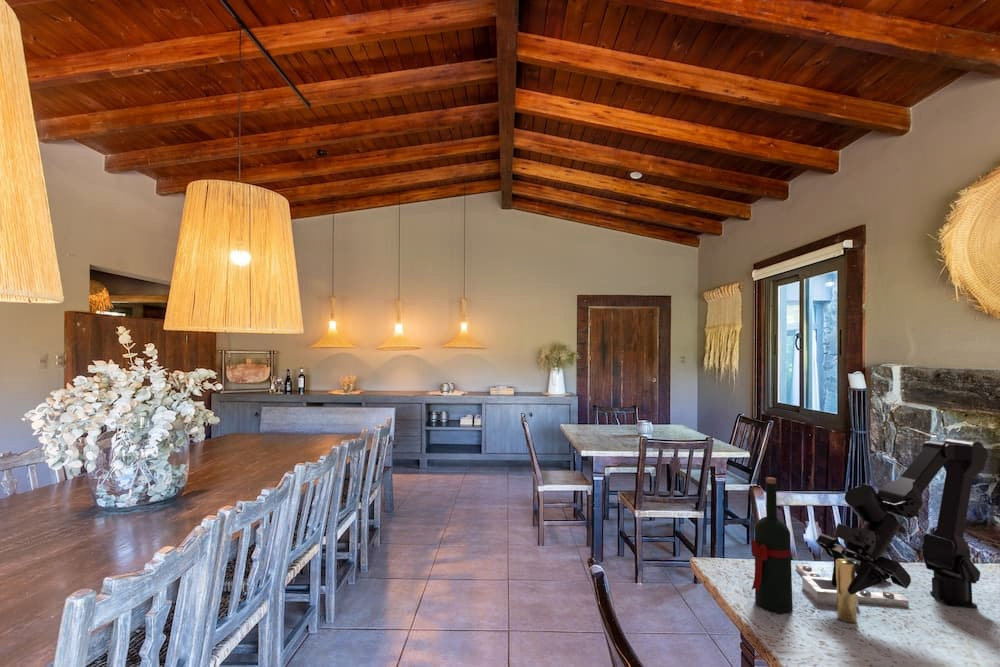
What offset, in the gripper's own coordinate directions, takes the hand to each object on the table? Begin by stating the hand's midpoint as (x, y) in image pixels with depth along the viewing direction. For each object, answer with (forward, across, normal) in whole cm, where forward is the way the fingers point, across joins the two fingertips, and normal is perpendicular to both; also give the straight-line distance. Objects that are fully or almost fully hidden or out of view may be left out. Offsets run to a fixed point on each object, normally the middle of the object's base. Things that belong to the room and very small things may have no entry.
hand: (841, 589), depth 112 cm
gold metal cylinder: (+4, 0, +6) cm, 7 cm away
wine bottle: (+12, -10, -3) cm, 16 cm away
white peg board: (-6, -12, +16) cm, 21 cm away
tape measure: (-15, -15, +25) cm, 33 cm away
